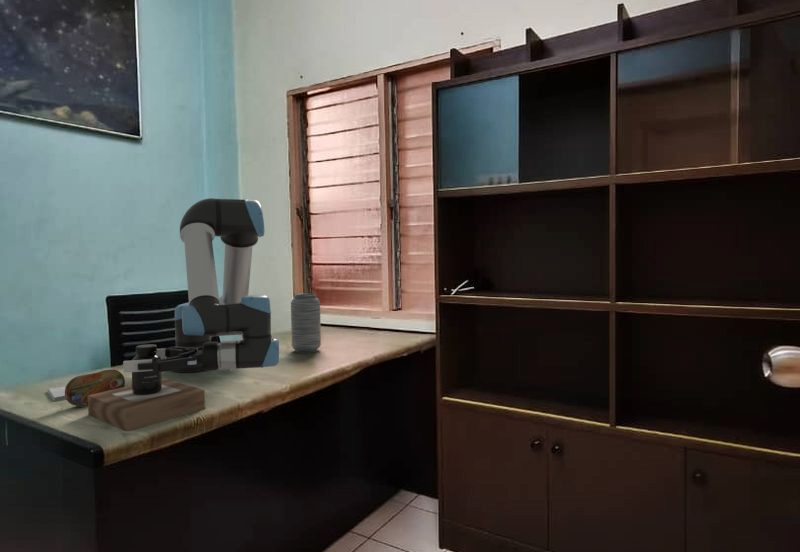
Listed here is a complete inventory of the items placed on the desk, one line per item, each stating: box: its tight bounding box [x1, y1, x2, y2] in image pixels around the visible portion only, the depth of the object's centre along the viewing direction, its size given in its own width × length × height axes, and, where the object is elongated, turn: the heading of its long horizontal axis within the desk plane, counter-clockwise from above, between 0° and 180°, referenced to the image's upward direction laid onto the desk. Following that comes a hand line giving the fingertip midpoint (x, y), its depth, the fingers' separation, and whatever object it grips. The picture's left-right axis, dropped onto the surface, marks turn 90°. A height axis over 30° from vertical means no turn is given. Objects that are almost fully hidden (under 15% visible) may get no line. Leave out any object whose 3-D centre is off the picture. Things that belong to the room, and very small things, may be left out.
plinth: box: [87, 378, 206, 432], centre depth 130 cm, size 20×20×5 cm
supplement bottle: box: [131, 343, 163, 395], centre depth 130 cm, size 7×7×12 cm
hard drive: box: [47, 385, 67, 402], centre depth 147 cm, size 2×8×12 cm
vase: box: [290, 293, 322, 354], centre depth 203 cm, size 12×12×23 cm
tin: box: [65, 369, 126, 408], centre depth 138 cm, size 15×3×8 cm, turn 149°
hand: (131, 360), depth 128 cm, fingers open, 13 cm apart
